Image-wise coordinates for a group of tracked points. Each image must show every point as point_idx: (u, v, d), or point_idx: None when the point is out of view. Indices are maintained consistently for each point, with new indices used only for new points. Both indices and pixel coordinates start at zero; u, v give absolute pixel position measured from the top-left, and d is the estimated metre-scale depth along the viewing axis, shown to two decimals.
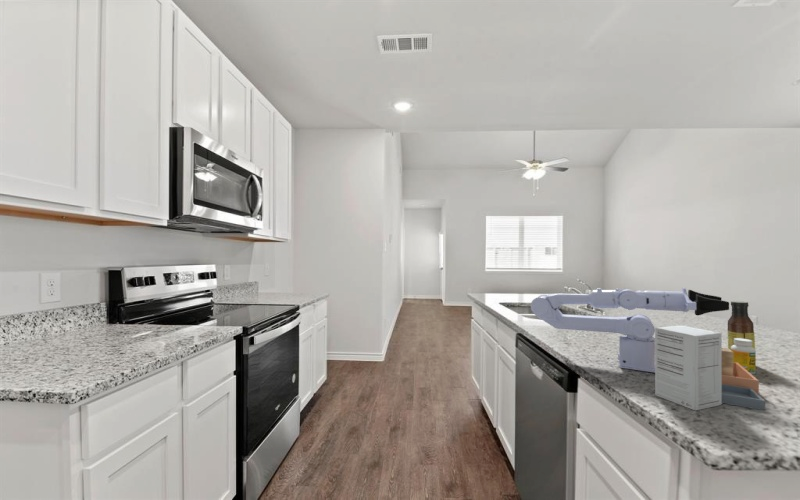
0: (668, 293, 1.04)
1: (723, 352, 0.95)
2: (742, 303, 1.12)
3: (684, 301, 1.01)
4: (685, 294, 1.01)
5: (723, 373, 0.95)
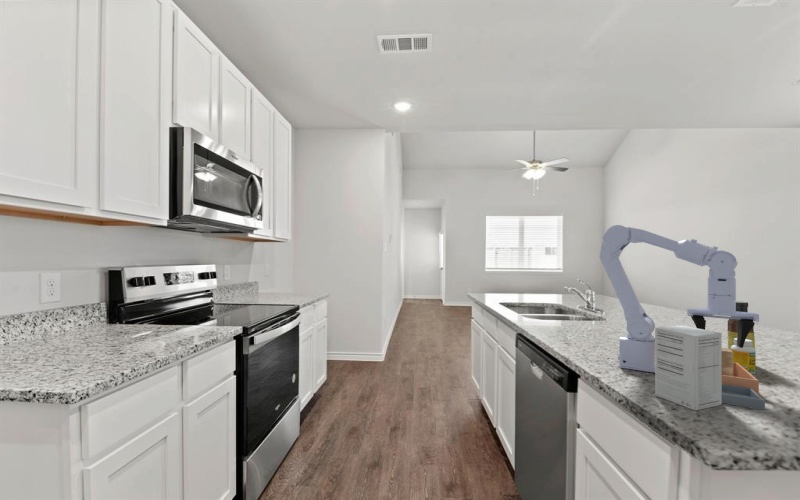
0: (716, 298, 0.96)
1: (723, 352, 0.95)
2: (742, 303, 1.12)
3: (708, 310, 0.98)
4: (712, 312, 0.96)
5: (723, 373, 0.95)
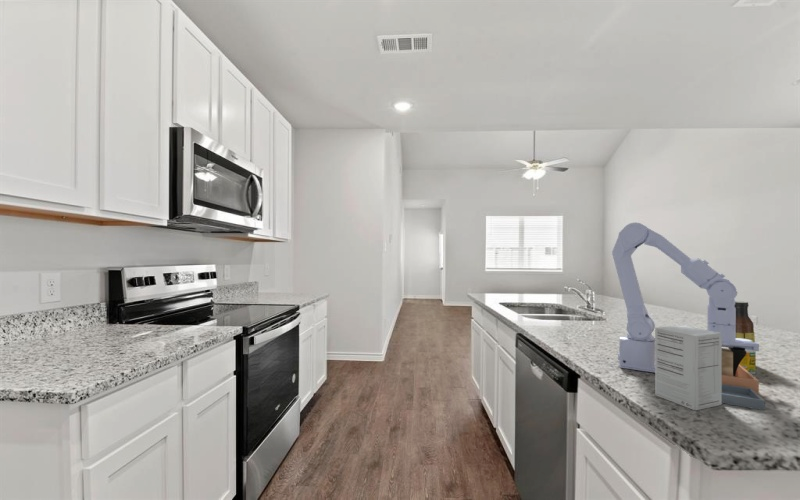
0: (716, 327, 0.96)
1: (723, 352, 0.95)
2: (742, 303, 1.12)
3: None
4: None
5: (723, 373, 0.95)
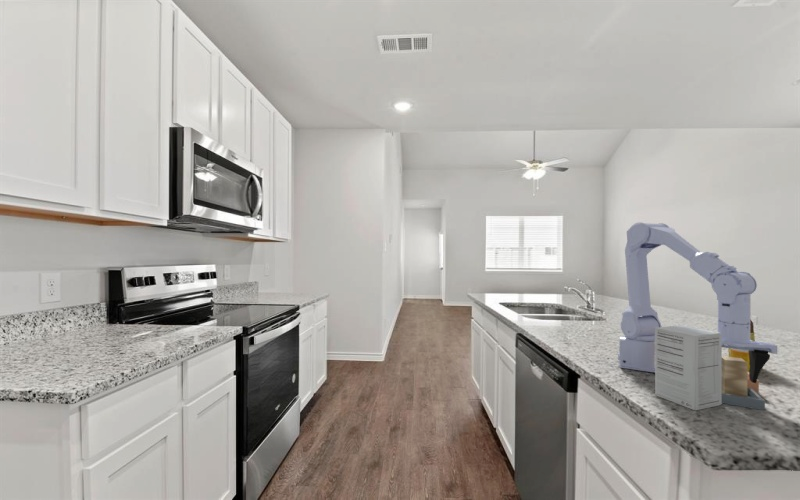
0: (728, 326, 0.84)
1: (736, 363, 0.84)
2: None
3: None
4: (724, 342, 0.85)
5: (736, 386, 0.84)
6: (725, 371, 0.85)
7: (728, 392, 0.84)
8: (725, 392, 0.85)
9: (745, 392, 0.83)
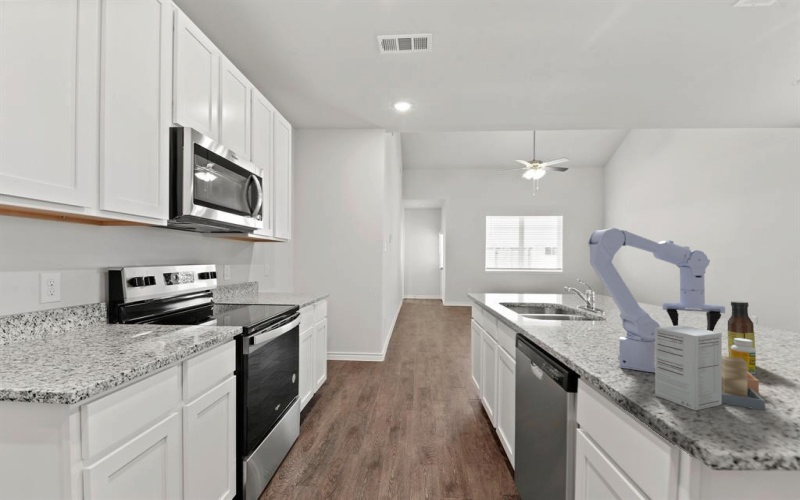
0: (687, 293, 1.06)
1: (736, 363, 0.84)
2: (742, 303, 1.12)
3: (680, 304, 1.08)
4: (684, 306, 1.06)
5: (736, 386, 0.84)
6: (725, 371, 0.85)
7: (728, 392, 0.84)
8: (725, 392, 0.85)
9: (745, 392, 0.83)
